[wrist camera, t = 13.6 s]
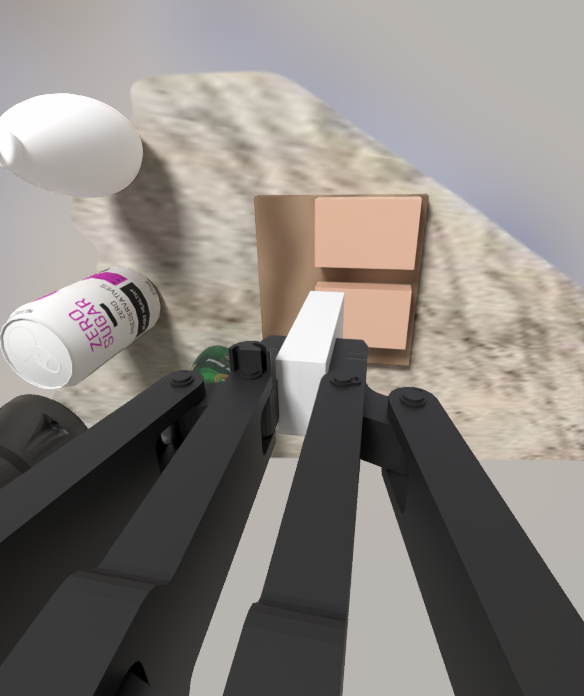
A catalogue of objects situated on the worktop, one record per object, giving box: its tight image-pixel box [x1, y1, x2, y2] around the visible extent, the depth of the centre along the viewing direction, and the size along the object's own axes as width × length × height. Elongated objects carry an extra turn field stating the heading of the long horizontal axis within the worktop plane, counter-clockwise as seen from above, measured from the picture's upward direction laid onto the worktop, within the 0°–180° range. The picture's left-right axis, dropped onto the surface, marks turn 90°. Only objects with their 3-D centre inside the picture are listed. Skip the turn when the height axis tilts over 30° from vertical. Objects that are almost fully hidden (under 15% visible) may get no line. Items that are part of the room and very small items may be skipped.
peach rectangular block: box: [315, 281, 412, 349], centre depth 40 cm, size 2×6×9 cm
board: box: [254, 194, 429, 366], centre depth 41 cm, size 16×17×2 cm
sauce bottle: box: [0, 94, 143, 198], centre depth 32 cm, size 8×8×18 cm
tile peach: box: [315, 196, 422, 270], centre depth 37 cm, size 2×6×9 cm
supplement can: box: [0, 266, 160, 390], centre depth 41 cm, size 8×8×15 cm
